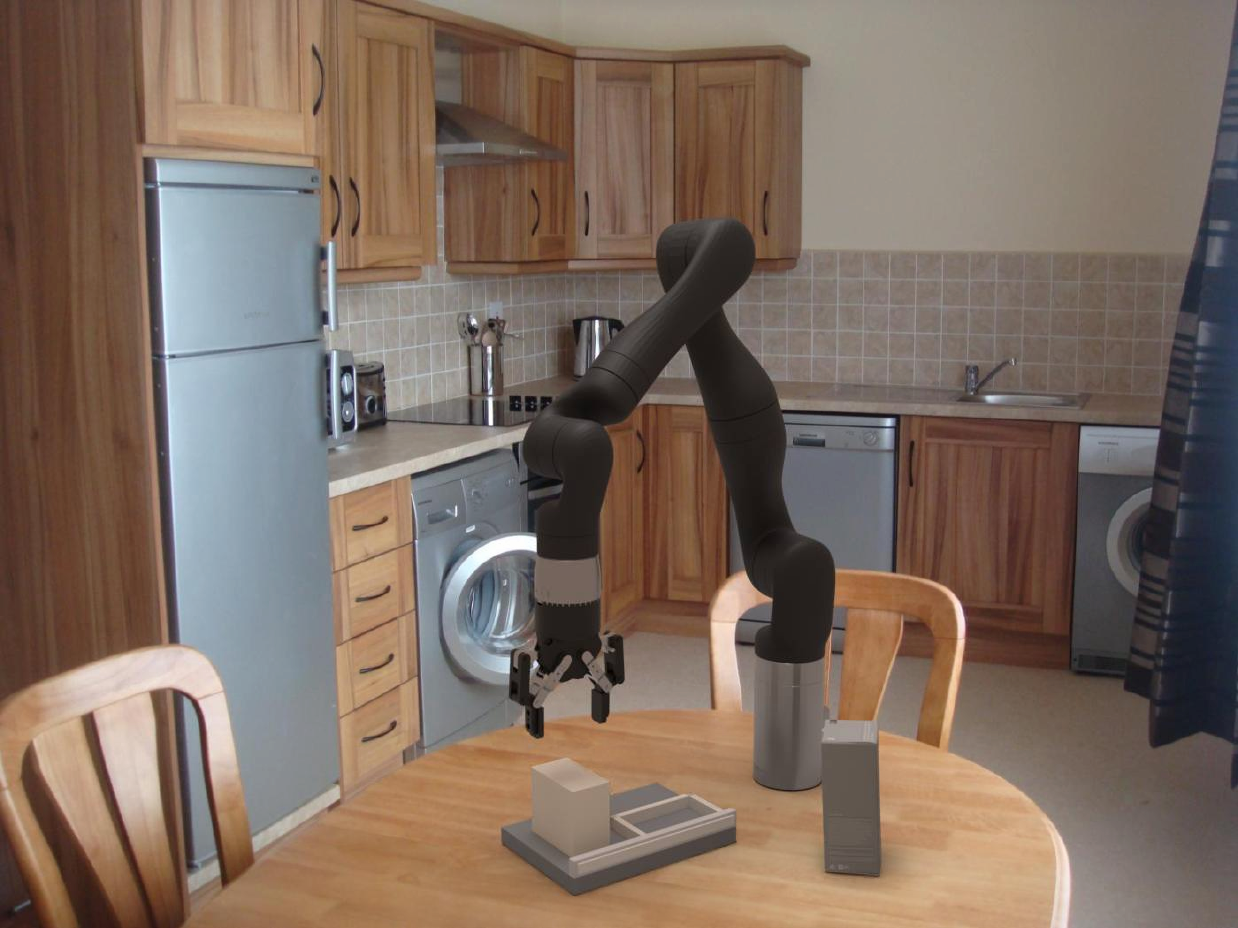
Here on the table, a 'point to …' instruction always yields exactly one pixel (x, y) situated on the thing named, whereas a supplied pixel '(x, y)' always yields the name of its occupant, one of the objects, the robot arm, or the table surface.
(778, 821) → the table surface
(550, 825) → the cream box
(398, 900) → the table surface
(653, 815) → the shelf deck
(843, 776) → the skincare box
